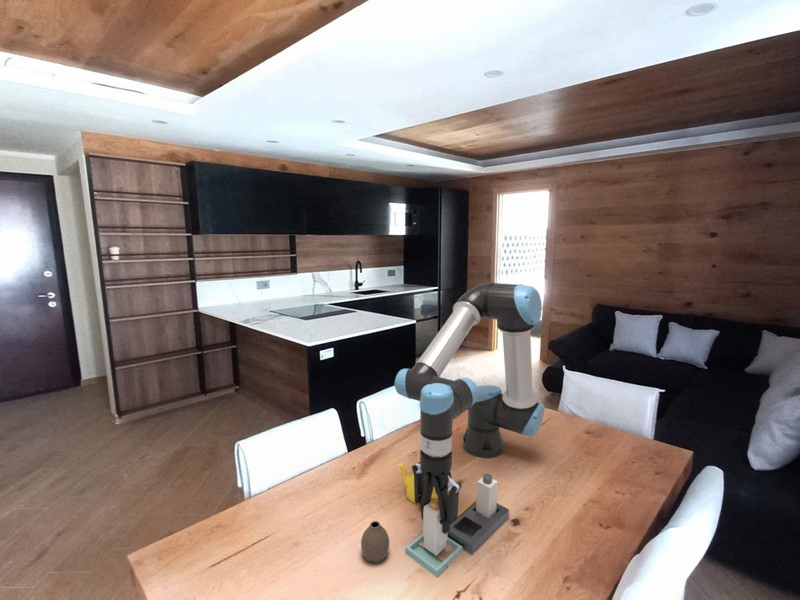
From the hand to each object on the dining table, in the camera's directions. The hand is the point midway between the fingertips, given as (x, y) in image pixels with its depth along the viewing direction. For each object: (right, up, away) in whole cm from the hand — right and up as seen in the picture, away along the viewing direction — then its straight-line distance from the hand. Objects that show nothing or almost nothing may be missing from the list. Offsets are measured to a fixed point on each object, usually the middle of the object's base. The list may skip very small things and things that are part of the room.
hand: (435, 537), depth 96 cm
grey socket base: (+12, -3, +9) cm, 15 cm away
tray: (0, -5, 0) cm, 5 cm away
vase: (-15, -5, 0) cm, 15 cm away
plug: (0, -3, 0) cm, 3 cm away
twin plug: (+15, -2, +12) cm, 19 cm away
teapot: (-1, -1, +22) cm, 23 cm away
